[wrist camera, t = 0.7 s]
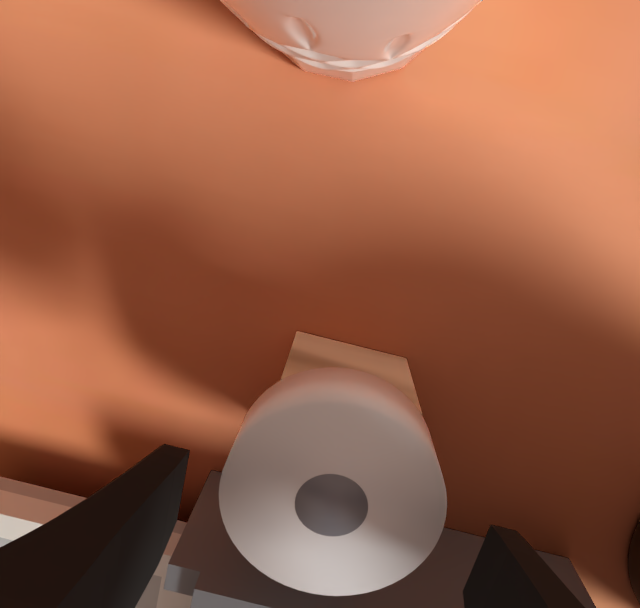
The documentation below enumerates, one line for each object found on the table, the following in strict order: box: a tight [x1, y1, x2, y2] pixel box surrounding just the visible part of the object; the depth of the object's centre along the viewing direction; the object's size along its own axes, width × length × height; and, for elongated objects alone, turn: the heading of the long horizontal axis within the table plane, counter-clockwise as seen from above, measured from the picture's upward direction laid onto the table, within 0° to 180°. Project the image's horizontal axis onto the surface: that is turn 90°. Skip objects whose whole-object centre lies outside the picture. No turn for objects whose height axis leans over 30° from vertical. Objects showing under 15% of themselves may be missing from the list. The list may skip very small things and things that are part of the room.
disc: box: [219, 367, 447, 596], centre depth 13 cm, size 6×6×2 cm
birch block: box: [280, 331, 423, 415], centre depth 15 cm, size 4×4×4 cm
